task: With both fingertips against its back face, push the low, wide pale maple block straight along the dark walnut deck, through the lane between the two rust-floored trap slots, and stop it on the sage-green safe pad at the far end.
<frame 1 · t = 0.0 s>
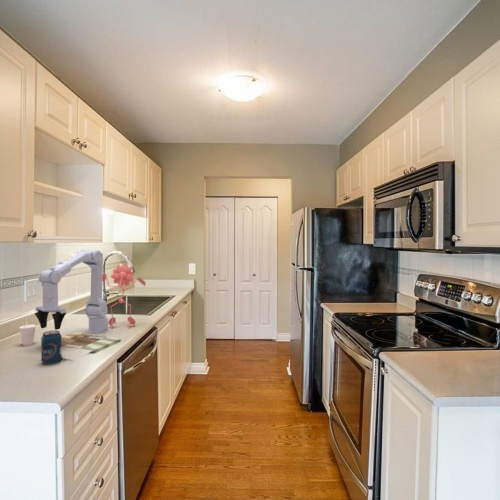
hand: (50, 328, 147), 10 cm above the counter, tool pointing down, fingers open, 7 cm apart
deck: (86, 344, 157), on the counter
block: (72, 340, 159), point 1 cm above the counter, touching deck
smoothie: (28, 348, 152), on the counter
figurine: (123, 326, 192), on the counter
soda can: (51, 362, 135), on the counter
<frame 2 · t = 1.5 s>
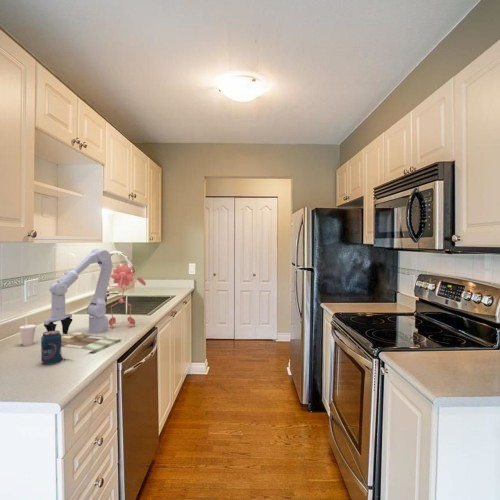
hand: (58, 335, 161), 3 cm above the counter, tool pointing down, fingers open, 7 cm apart
nothing on the counter moved.
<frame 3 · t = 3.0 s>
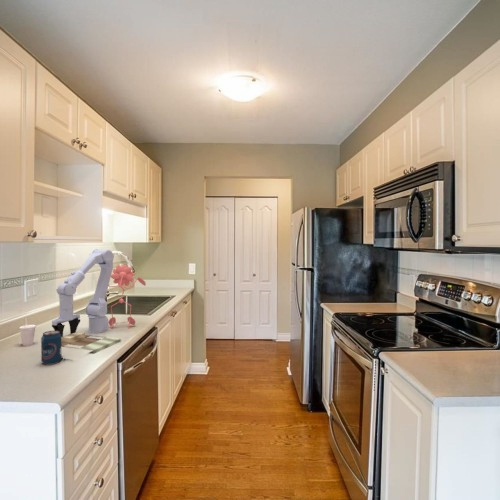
hand: (66, 336, 160), 3 cm above the counter, tool pointing down, fingers open, 7 cm apart
block: (73, 340, 159), point 2 cm above the counter, touching deck, gripper
everything else where it was.
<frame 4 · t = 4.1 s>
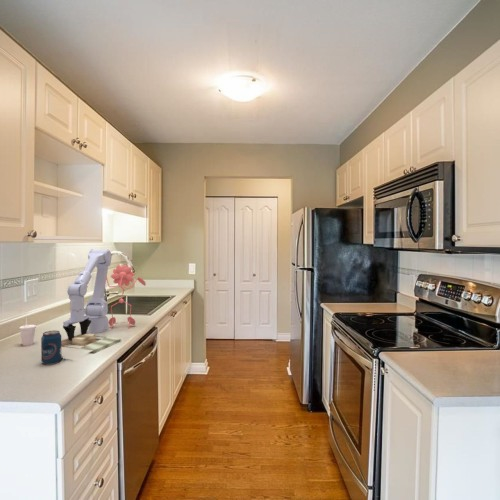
hand: (77, 338, 158), 3 cm above the counter, tool pointing down
block: (84, 341, 157), point 1 cm above the counter, touching deck, gripper
everything else where it was.
when the fingers open (3 cm above the counter, at t = 5.2 s): block stays where it is, resting on deck.
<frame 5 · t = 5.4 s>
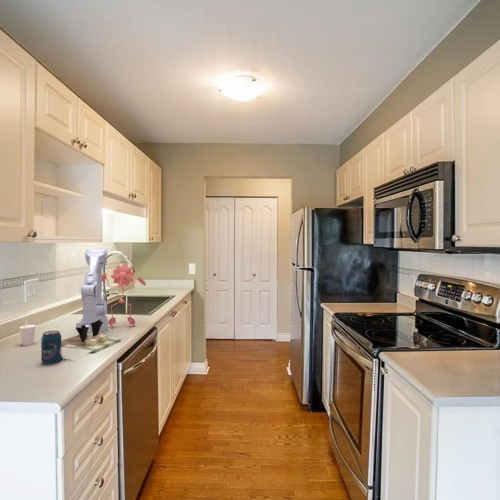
hand: (89, 339, 156), 3 cm above the counter, tool pointing down, fingers open, 7 cm apart
block: (96, 342, 155), point 1 cm above the counter, touching deck, gripper
everything else where it was.
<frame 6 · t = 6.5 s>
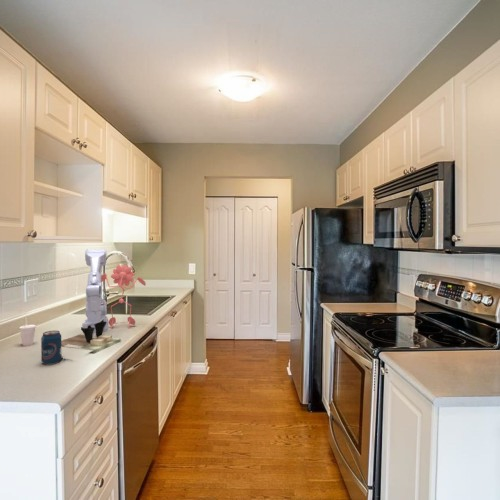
hand: (94, 339, 155), 3 cm above the counter, tool pointing down
block: (101, 343, 154), point 1 cm above the counter, touching deck, gripper
everything else where it was.
when the fingers open (3 cm above the counter, at t = 6.8 s): block stays where it is, resting on deck.
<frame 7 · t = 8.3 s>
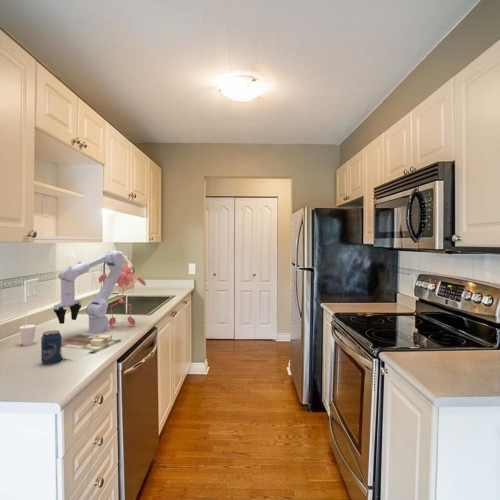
hand: (68, 321, 162), 9 cm above the counter, tool pointing down, fingers open, 7 cm apart
block: (101, 343, 154), point 1 cm above the counter, touching deck
everything else where it was.
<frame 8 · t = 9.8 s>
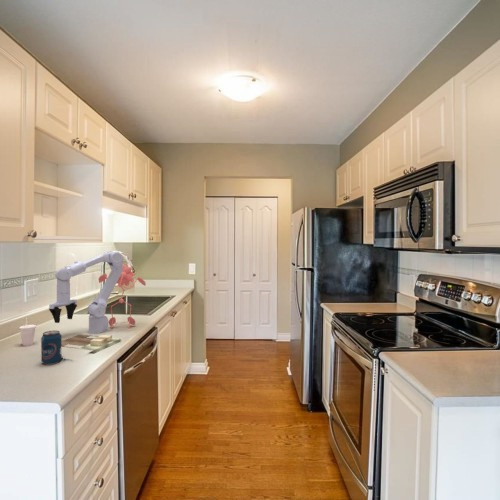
hand: (63, 320, 164), 9 cm above the counter, tool pointing down, fingers open, 7 cm apart
nothing on the counter moved.
at the end: block inside the target area on the deck (0.6 cm from its centre), point 1.5 cm above the deck's base; block tilted 0°; block moved 16.3 cm from its start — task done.
